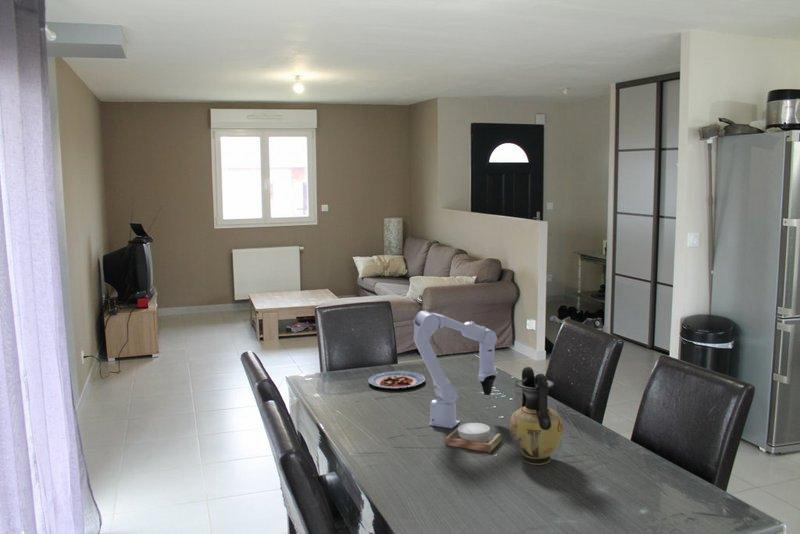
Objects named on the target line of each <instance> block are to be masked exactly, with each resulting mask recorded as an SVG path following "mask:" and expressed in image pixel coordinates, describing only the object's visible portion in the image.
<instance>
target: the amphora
mask: <svg viewBox="0 0 800 534" xmlns="http://www.w3.org/2000/svg"><path fill="white" fill-rule="evenodd" d="M517 385H518V386H519V387H520V388H522V408H520V409H518V410H516V411H515V410H514V412H513V413H512V415H511V417H510V421H509V433H510V436H511V439H512V443H513V444H514V446H515V447H516V449H517V451H519V452H520V453H521V454H522V461H523V462H525V463H527V464H529V465H535V466H537V465H538V466H540V465H541V466H542V465H546V464H549V463H550V462H551V460H552V457H551V455H552V454H553V453H554V452H555V451H556V450H557V448H558V447H559V446H560V443H561V440H562V437H563V431H564V429H563V428H564V427H563V420H562V418H561V416H560V414H559V413H558V412H557V411H556V410H554V409H553V408H551V407H549V406H548V398H549V397H548V395H549V394H548V393H549V391H550V389H551V388H553V387H554V385H555V383H554V382H553V381H551V380H550V379H549V380H548V379H547V377H546V376H545V374H544V373H537V374H536V375H535V372H534V370H533V368H532V367H531V366H527V367H524V368H523V369H522V372H521V380H519V382H518V383H517Z"/></svg>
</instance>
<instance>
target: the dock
mask: <svg viewBox="0 0 800 534" xmlns="http://www.w3.org/2000/svg"><path fill="white" fill-rule="evenodd" d="M458 427H459V426H457V427H456V428H455V429H454V430H452V432H450V433H449V434H448V435H447V436H446V437H444V441H445V443H444V444H445V446H450V447H457V448H460V449H461V448H463V449H469V450H475V451H479V452H486V453H491V451H493V450H494V449H495V448H496V447H497V446H498V444H500V442H501V441H502V433H497V434H495V436H494V437H493V438H491V440H489V441H488V442H487V443H483V442H476V441H470V440H464V439H460V437H459V432H458Z"/></svg>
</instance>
